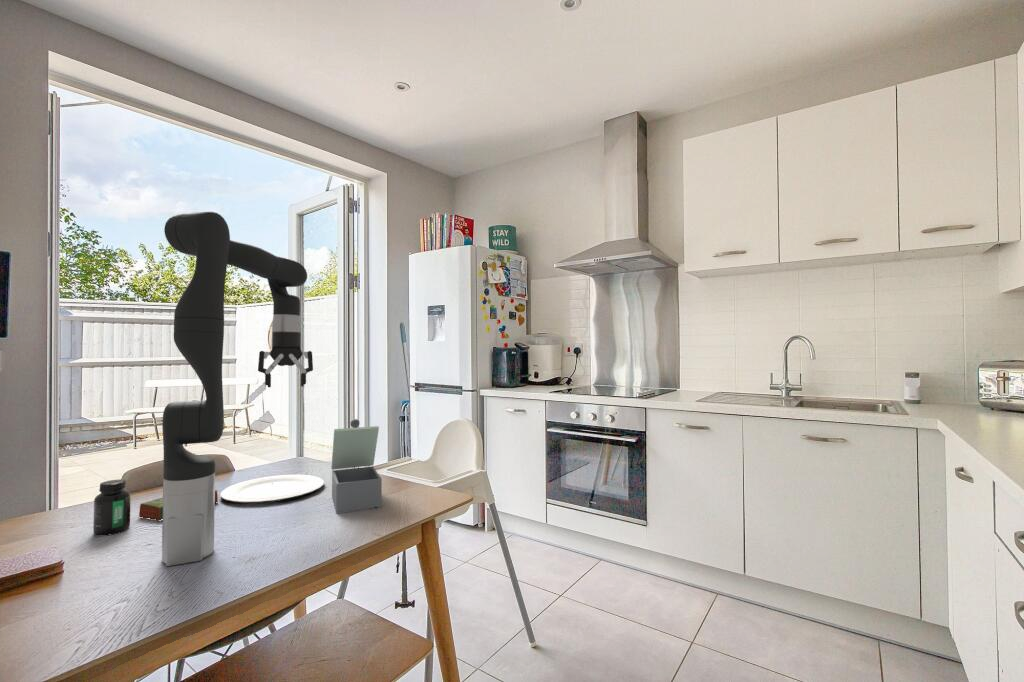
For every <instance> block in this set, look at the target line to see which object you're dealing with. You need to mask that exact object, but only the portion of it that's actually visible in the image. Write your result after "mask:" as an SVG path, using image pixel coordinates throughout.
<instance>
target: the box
mask: <svg viewBox="0 0 1024 682" xmlns="http://www.w3.org/2000/svg"><path fill="white" fill-rule="evenodd" d="M331 471H332V472H331V481H332V482H331V498H332V502H333V506H334V510H335V513H336V514H342V513H343V512H344V513H349V512H348V511H351V512H356V511H355V510H358V511H363V510H362V509H365V510H369V509H368V508H372V509H375V508H374V507H379V508H382V487H383V486H382V485H383V484H382V481H383V480H382V477H381V475H379V473H378V471H377V470H376V468H374V465H373V466H363V467H353V468H344V469H334V470H331Z"/></svg>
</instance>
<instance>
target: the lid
mask: <svg viewBox="0 0 1024 682" xmlns="http://www.w3.org/2000/svg"><path fill="white" fill-rule="evenodd" d="M359 426H360V420H358V419H357V418H354V419H351V420H350V427H347V428H346V427H345V428H334V429H333V439H332V440H333V442H332V453H331V454H332V456H331V466H330V467H331V468H330V469H331V471H333V470H342V469H352V468H362V467H371V466H373V467H374V464H375V457H376V449H377V443H378V438H379V430H380V429H379V428H380V427H379V425H377V426H376V425H374V426H363V427H362V426H361V427H359Z"/></svg>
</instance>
